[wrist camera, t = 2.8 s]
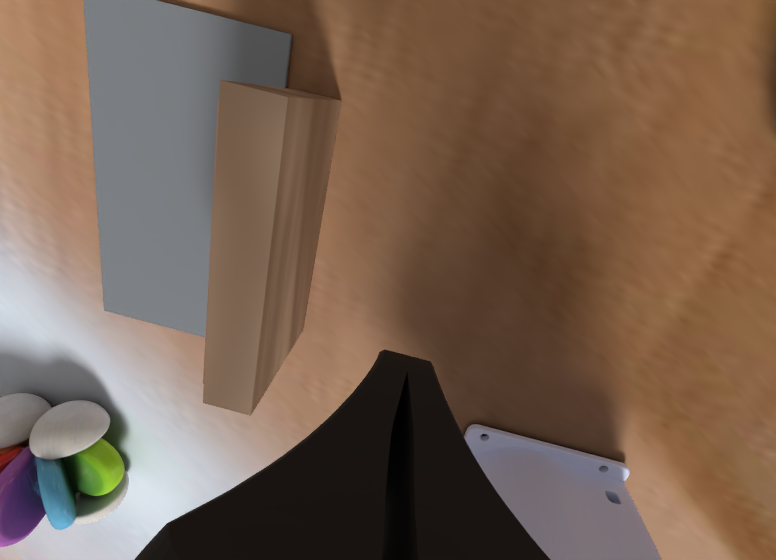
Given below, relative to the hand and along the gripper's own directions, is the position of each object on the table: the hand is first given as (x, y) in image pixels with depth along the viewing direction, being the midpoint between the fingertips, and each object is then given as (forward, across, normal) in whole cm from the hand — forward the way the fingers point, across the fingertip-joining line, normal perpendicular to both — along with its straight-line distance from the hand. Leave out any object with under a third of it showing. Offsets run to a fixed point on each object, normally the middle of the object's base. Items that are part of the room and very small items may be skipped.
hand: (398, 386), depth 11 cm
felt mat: (+10, +12, 0) cm, 16 cm away
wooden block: (+11, +6, 0) cm, 12 cm away
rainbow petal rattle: (+11, +19, +19) cm, 29 cm away
